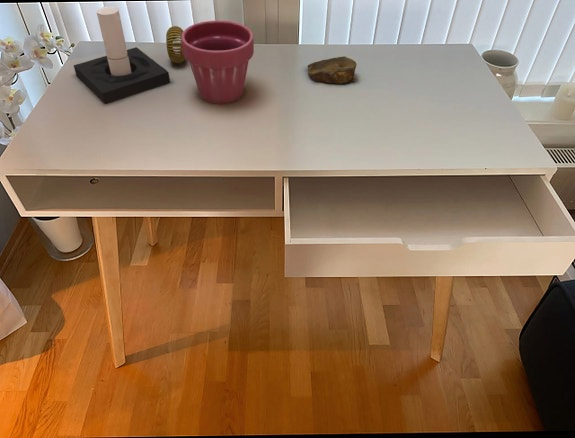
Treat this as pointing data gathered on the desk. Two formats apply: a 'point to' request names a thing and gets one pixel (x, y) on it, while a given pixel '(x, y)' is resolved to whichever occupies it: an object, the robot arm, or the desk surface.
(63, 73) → the desk surface
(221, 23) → the flower pot
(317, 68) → the decorative stone
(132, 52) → the base pad
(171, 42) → the sculpture
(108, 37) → the tube
